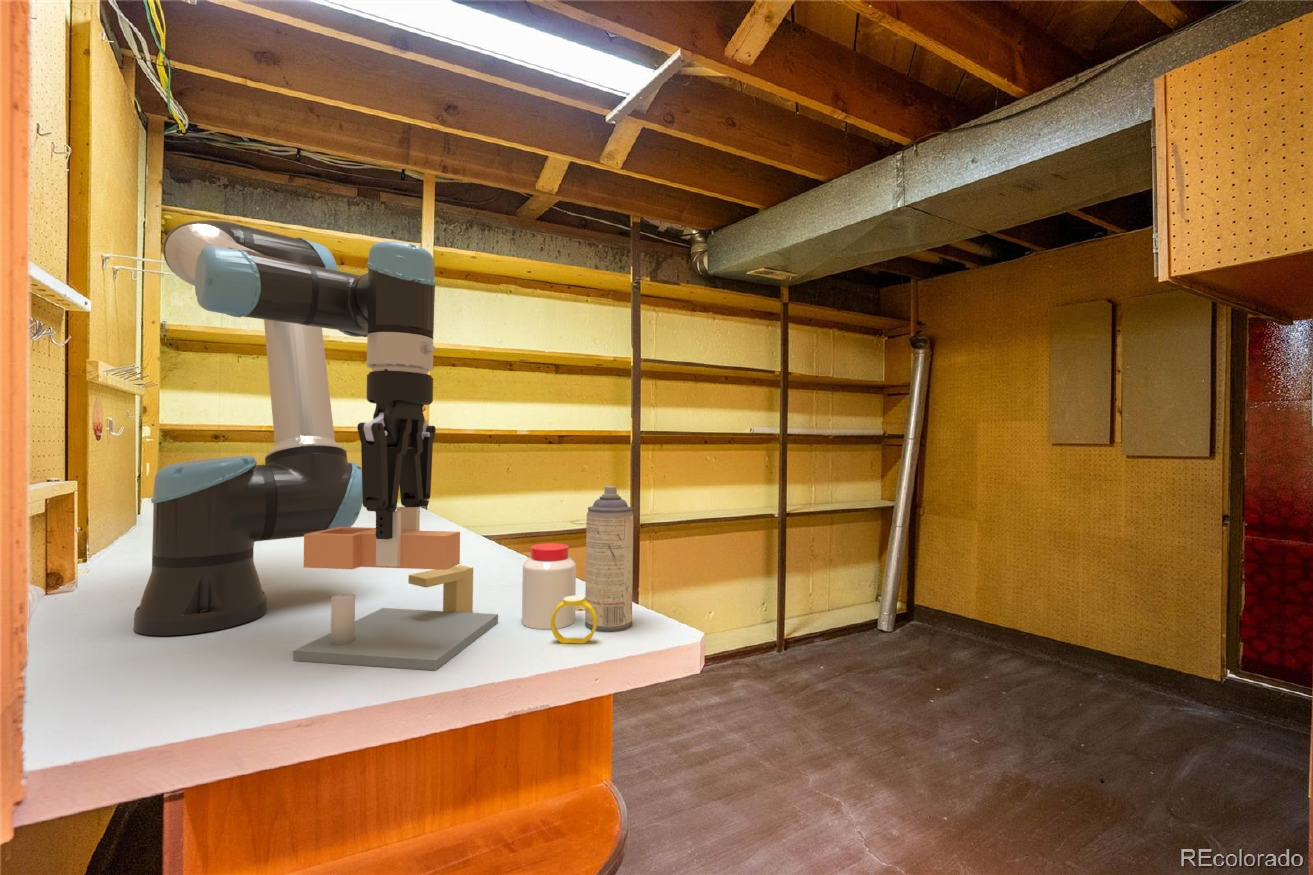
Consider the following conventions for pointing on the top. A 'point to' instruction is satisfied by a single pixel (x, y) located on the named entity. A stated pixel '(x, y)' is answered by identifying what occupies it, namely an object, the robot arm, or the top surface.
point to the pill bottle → (548, 586)
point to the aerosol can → (609, 562)
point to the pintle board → (403, 628)
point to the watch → (573, 602)
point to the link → (360, 549)
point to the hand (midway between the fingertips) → (398, 561)
